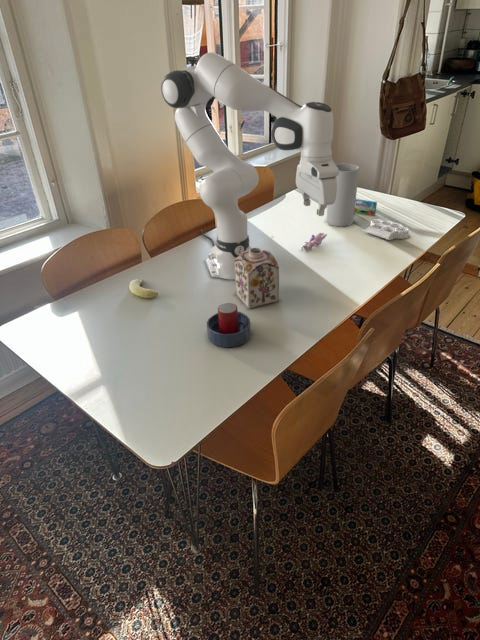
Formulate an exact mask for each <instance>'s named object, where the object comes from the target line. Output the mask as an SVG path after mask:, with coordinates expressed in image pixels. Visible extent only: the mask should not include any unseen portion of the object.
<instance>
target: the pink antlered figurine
mask: <svg viewBox="0 0 480 640" xmlns="http://www.w3.org/2000/svg"><path fill="white" fill-rule="evenodd" d="M327 236H328V234H327V233H324V232H319V233H317V234H316V235H315V234H312V235H311V237H310V238H309V241H305V242H304V245H302V247H301V251H304V250H305V251H306V252H308V251H312V249H313V247H314V246H315V247H318V246H320V245H322V243H323V240H324V239H325V238H326V237H327Z"/></svg>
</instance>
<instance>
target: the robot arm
mask: <svg viewBox="0 0 480 640" xmlns="http://www.w3.org/2000/svg"><path fill="white" fill-rule="evenodd" d="M160 90H161V95H162V98H163V100H164V102H165V103H166V104H167V106H169V107H171V108H174V109H176V110H175V112H174V116H173V117H174V121H175V124H176V127H177V129H178V131H179V133H180V135H181V137H182V139H183V141H184V143H185V145H186V146H187V148H188V149H189V151H190V153H191V154H192V156H193V158H194V159H195V161H196V162H197V163H198V164H199V165H200V166H202V167H205V168H207V169H209V170H211V171H212V172H213V173H211V174H209V175H208V176H207V177H205V178H204V179H203V180H202V181H201V182H200V184H199V187H198V191H199V196H200V199H201V201H202V202H203V203H204V205H206V206H207V207H209V208H210V209H211V210H212V212H213V215H214V217H215V224H216V233H217V234H216V240H215V242H214V240H213V238H211V237H210V236H207V235H206V234H205V233H204V231H203V229H200V231H199V232H200V233H201V235H202V236H203V237H204V238H206V239H208V240H209V241H210V242H211V244H212V247H211V249H210V253H208V257H207V258H206V259H205V264H206V266H207V269H208V271H209V274H210V276H211V277H212V278H217V279H219V278H220V279H224V280H231V281H233V280H234V281H235V269H234V261H235V259H236V258H237V257H238V256H239V255H240V254H241V253H242V252H244V251H248V250H250V249H251V248H252V246H250V236H249V234H248V217H247V214H246V213H245V212H244V211H243V210H241V209H240V208H239V207H240V206H239V199H240V198H243V197H244V196H247V195H249V194H250V193H251V192H252V191H254V190H255V189H256V187H257V186H258V184H259V180H260V178H259V172H258V170H257V169H256V167H255V166H254V165H253V164H251V163H248V162H246V161H244V160H243V159H241V158H239V157H238V156H237V155H236V154H235V153H234V152H233V151H232V150H231V149H230V148H229V147H228V146H227V144H226V143H225V142H224V140H223V138H222V137H221V136H220V134H219V132H218V131H217V129H216V128H215V126H214V124H213V123H212V121H211V119H210V118H209V116H208V114H207V109H206V108H208V107H209V108H211V107H212V105H213V104H214V101H215V99H216V100H217V101H218V102H220V103H221V104H222V105H224V106H225V107H227V108H230V109H232V110H235V111H244V110H245V111H247V110H249V111H250V110H255V111H263V112H267V113H268V114H271V115H272V116H274V117H276V118H277V119H275V120H274V121H273V123H272V126H271V131H270V133H271V134H270V136H271V139H272V142H273V144H274V145H275V147H276V148H278V149H279V150H281V151H294V150H299V151H300V160H299V164H298V165H297V167H296V174H295V186H296V188H297V189H299V190H300V191H301V197H302V200H303V204H302V205H304V206H305V207H310V206H311V203H312V201H311V199H310V198H312V199H313V200H314V201H316V202H318V207H317V208H316V215H317V216H318V217H324V216H325V211H326V209H327V205H331V204H333V203H334V202H335V200H336V192H337V179H336V176H338V175H339V169H338V167H337V166H336V165H335V164H336V163H335V161H334V159H333V158H332V157H333V152H332V142H333V138H334V113H333V109H332V108H331V106H329V105H328V104H327V103H324V102H317V101H310V102H307V103H305V104H304V105H301V104H298V103H297V102H295V101H293V100H292V99H290V98H288V97H287V96H285V95H284V94H282V93H280V92H279V91H277V90H276V89H274V88H272V87H271V86H268V85H267V84H265V83H264V82H262V81H260V80H259V79H257V78H255V77H254V76H252V75H251V74H249V73H248V72H247V71H245V70H244V69H242V68H241V67H240V66H238V65H237V64H236V63H234V62H232V61H231V60H230V59H228V58H226V57H224V56H222V55H220V54H218V53H216V52H206V53H204V54H203V55H202V56H201V57H200V58H199V59H198V61H197V63H196V65H192V66H187V67H185V68H181V69H178V70H177V69H176V70H172V71H170V72H168V73H167V74H166V75H164V76H163V78H162V80H161V84H160Z"/></svg>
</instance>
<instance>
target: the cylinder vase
mask: <svg viewBox="0 0 480 640" xmlns="http://www.w3.org/2000/svg"><path fill="white" fill-rule="evenodd" d="M335 165H336V166H337V167H338V169H339V175H338V176H336V179H337V192H336V200H335V202H334V203H333V204H331V205H327V206H326V215H325V216H326V217H325V221H326V223H327V224H328V225H330V226H333V227H348V226H351V225H352V224H353V223H354V221H355V202H356V199H357V192H358V181H359V171H360V166H359V165H357V164H353V163H335Z"/></svg>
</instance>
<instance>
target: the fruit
mask: <svg viewBox="0 0 480 640" xmlns="http://www.w3.org/2000/svg"><path fill="white" fill-rule="evenodd" d="M144 282H145V281H144V279H140V278H139V279H137V278H136V279H133V280H131V281H130V282H129V290H130V292H131V293H132V294H133V295H135V296H137V297H141V298H143V299H154V298H156V297H158V296H159V292H158V291H157V290H154V289H150V288H146V287H142V286H141V285H142V283H144Z"/></svg>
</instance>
